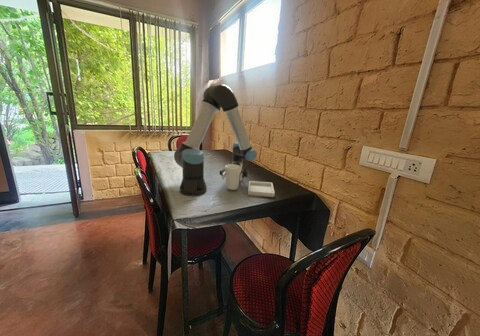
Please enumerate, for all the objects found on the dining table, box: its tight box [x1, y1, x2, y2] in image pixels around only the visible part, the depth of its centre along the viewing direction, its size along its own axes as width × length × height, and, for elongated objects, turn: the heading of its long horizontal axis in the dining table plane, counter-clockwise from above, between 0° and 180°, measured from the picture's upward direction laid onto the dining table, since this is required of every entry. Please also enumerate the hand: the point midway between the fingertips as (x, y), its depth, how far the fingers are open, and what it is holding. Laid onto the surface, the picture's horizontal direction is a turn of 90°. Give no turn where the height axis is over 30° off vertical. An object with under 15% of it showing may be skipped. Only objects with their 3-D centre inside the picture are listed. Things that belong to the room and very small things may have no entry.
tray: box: [247, 180, 276, 198], centre depth 122 cm, size 15×18×2 cm
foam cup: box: [224, 163, 243, 191], centre depth 118 cm, size 10×9×13 cm
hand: (232, 177), depth 114 cm, fingers closed on foam cup, 9 cm apart
